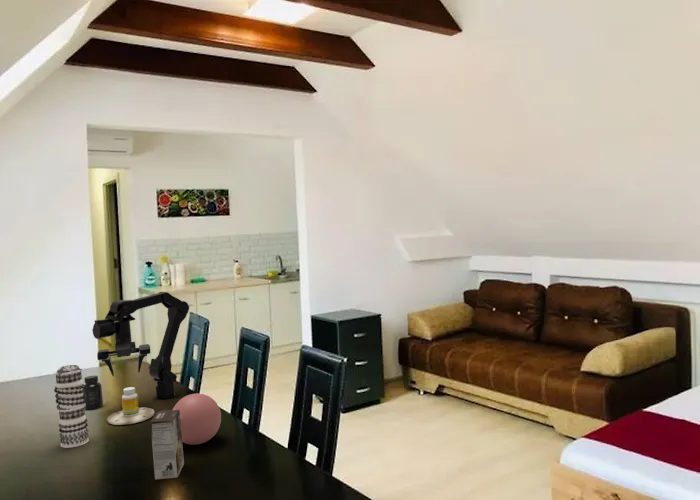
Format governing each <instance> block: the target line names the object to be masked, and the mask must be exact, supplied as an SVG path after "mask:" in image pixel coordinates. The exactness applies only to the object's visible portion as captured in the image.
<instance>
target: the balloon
mask: <svg viewBox="0 0 700 500" xmlns="http://www.w3.org/2000/svg"><path fill="white" fill-rule="evenodd" d="M172 410H179V411H180V422H181V433H182V443H184V444H187V445H191V446H192V445H193V446H197V445H202V444H204V443H207V442H208V441H210V440H211V439H212V438H213V437H214V436H215V435H216V434H217V432H218V431H219V428H220V426H221V421H222V412H221V408H220V405H218V403H217V402H216V401H215V400H214V399H213V398H212V397H211V396H210V395H207V394H204V393H192V394H190V393H189V394H188V395H185V396H183V397H182V398H180V399H179V400H178V402H176V404H175V405H174V406H173V408H172Z"/></svg>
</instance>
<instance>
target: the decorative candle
mask: <svg viewBox="0 0 700 500" xmlns="http://www.w3.org/2000/svg"><path fill="white" fill-rule="evenodd" d="M82 370H83V369H82V368H80V366H79V365H76V364H69V365H64V366H61V367H59V368H58V369H57V371H56V372H54V375H55V381H56V382H55V386H54V389H53V391H54V393H55V395H54V397H55V403H56V409H57V411H58V412H59V413H58V414H59V418H58V421H59V424H58V428H59V429H58V432H59V435H58V436H59V442H60V447H61V448H65V449H67V448H76V447H80V446H83V445H85V444H87V443H88V442H89V441H90V439H89V437H90V435H89V429H88V423H87V422H88V419H87V417H86V415H87V414H86V412H85V410H86V409H85V408H84V407H85V406H86V404H85V403H86V400H84V398H85V397H86V396H85V395H83V393H84V392H85V391H86V390H85V389H83V388H84V387H85V384H84V380H83V377H82Z"/></svg>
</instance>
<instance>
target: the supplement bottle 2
mask: <svg viewBox="0 0 700 500" xmlns="http://www.w3.org/2000/svg"><path fill="white" fill-rule="evenodd" d="M121 403H122V410H123V416H125V417H132V416H135V415H137V414H138V413H139V408H140V407H139V396H138V393H137V392H136V387H134V386H130V387H129V386H128V387H125V388H123V394H122V396H121Z"/></svg>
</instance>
